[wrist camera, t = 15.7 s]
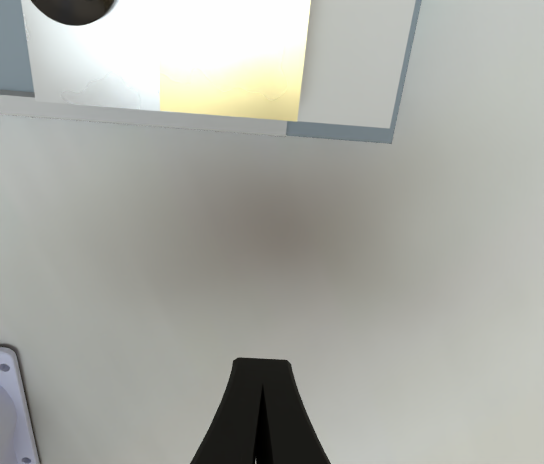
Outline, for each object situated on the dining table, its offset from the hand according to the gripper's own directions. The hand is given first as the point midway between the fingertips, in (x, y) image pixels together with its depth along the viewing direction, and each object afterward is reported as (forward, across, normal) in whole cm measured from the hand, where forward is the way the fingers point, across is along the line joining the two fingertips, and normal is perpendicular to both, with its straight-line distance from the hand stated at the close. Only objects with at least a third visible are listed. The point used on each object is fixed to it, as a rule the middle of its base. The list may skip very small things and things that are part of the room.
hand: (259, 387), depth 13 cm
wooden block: (+9, +1, -9) cm, 13 cm away
